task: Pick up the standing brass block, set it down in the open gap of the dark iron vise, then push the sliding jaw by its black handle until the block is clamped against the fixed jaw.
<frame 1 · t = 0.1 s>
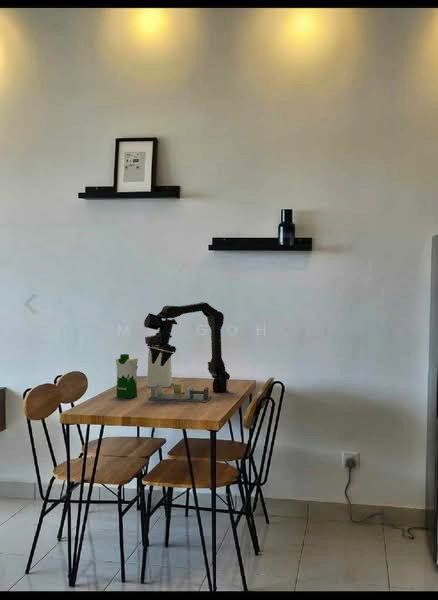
hand: (157, 364, 286), 15 cm above the table, tool pointing down, fingers open, 9 cm apart
vise: (180, 398, 285), on the table
jaw: (197, 392, 283), point 3 cm above the table, slide at 0.0 cm
milk carton: (127, 396, 289), on the table
block: (178, 393, 298), on the table
milk: (159, 385, 321), on the table
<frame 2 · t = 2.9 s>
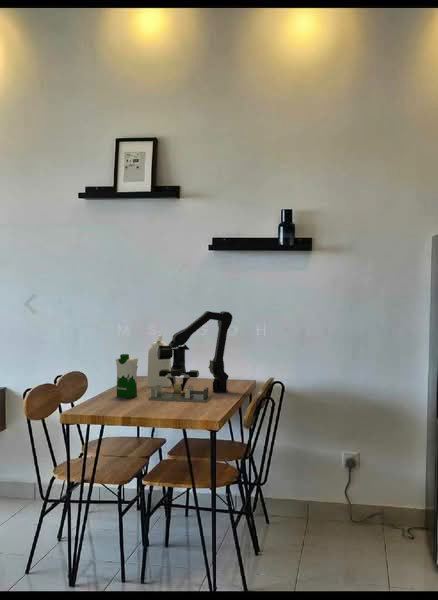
hand: (178, 391, 298), 1 cm above the table, tool pointing down, fingers closed on block, 3 cm apart
block: (178, 393, 298), on the table, touching gripper
everything else where it was.
when the fingers open (3 cm above the table, at t = 6.3 s): block stays where it is, resting on vise.
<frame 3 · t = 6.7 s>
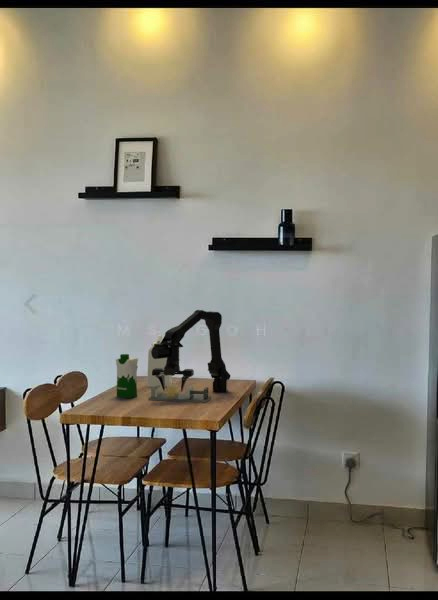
hand: (172, 390, 285), 3 cm above the table, tool pointing down, fingers open, 8 cm apart
block: (172, 396, 285), point 1 cm above the table, touching vise
everything else where it was.
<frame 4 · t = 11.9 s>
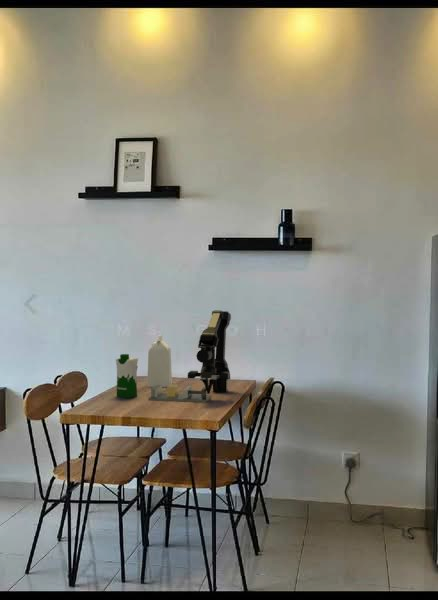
hand: (208, 393, 282), 3 cm above the table, tool pointing down, fingers closed
jaw: (195, 392, 283), point 3 cm above the table, slide at 0.9 cm, touching gripper
everything else where it was.
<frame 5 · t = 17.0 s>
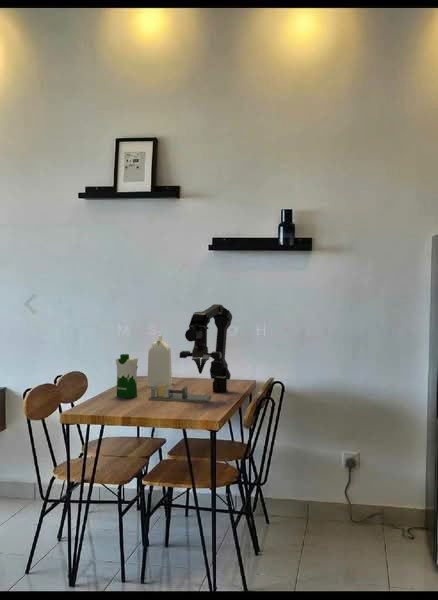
hand: (200, 373, 283), 12 cm above the table, tool pointing down, fingers closed
jaw: (176, 391, 285), point 3 cm above the table, slide at 9.9 cm
block: (163, 395, 286), point 1 cm above the table, touching vise
everything else where it was.
at the end: jaw slide at 9.9 cm; block 0.4 cm from the target spot, point 1.0 cm above the table; block tilted 0° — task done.
